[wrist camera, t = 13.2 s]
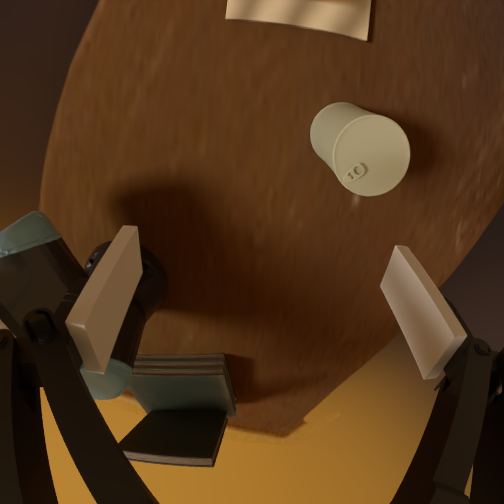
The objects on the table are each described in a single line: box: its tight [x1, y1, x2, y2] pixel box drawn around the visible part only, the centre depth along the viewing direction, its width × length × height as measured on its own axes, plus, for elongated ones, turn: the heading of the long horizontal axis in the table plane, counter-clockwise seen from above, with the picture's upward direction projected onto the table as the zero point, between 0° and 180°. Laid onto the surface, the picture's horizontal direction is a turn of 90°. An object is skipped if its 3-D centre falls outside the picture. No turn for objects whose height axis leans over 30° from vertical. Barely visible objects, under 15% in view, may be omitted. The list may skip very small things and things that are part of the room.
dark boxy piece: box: [118, 353, 236, 467], centre depth 58 cm, size 23×20×25 cm
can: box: [310, 102, 410, 196], centre depth 34 cm, size 9×9×12 cm
